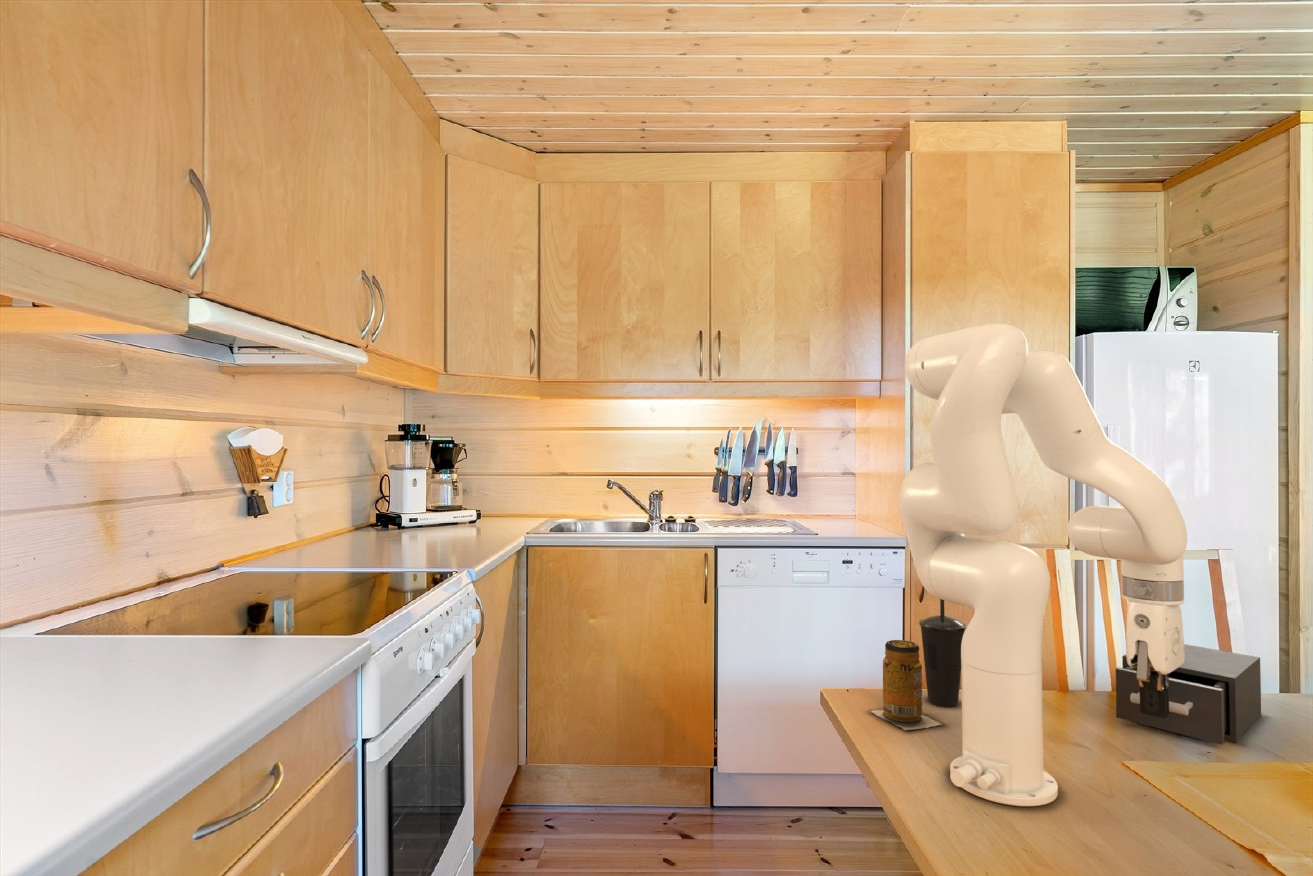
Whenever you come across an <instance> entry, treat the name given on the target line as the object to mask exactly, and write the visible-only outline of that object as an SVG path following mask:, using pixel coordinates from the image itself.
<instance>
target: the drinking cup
mask: <svg viewBox="0 0 1313 876" xmlns="http://www.w3.org/2000/svg"><path fill="white" fill-rule="evenodd" d="M918 625H919V626H920V632H921V633H920V634H921V642H922V652H923V653H922V654H923V662H924V672H925V683H926V693H927V701H928V703H930V704H932V705H935V706H937V707H944V708H954V707H957V706H958V705H959V697H960V688H961V687H960V686H961V678H962V676H961V643H962V638H963V634H964V632H965V630H966V628H967V626H968V625H967V624H966V623H965V622H963V621H960V620H958V619H957V618H955V617H952V616H948V615H945V600H942V599H939V615H938V614H936V615H931V616H927V617H925V618H922V619H920V620H919V621H918Z"/></svg>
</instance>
